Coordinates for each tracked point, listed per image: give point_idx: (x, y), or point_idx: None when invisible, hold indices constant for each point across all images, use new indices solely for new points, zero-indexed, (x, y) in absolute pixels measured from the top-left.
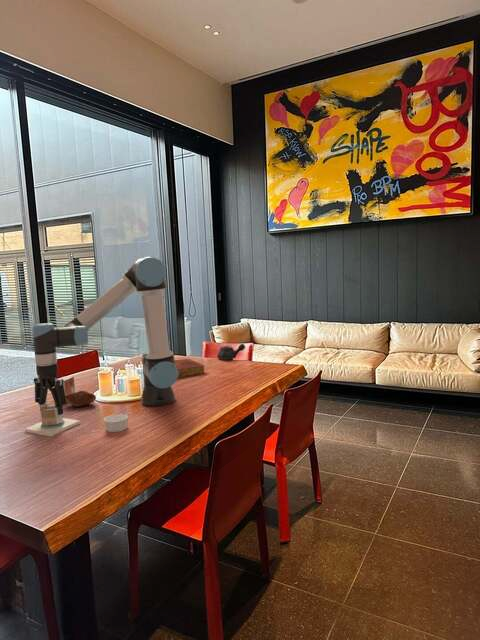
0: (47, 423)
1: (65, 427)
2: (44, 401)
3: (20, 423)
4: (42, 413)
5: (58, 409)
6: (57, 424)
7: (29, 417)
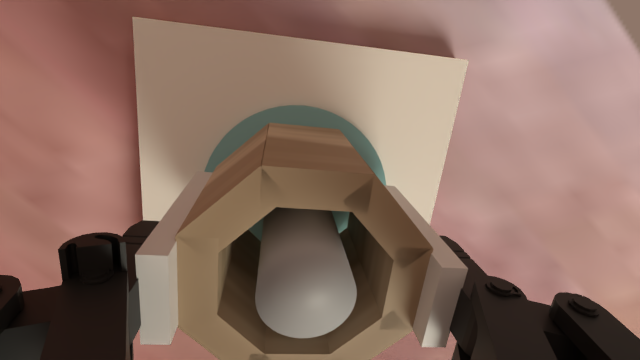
0: (267, 127)
1: (142, 181)
2: (464, 351)
3: (598, 186)
4: (337, 157)
5: (129, 256)
6: None
7: (599, 282)
